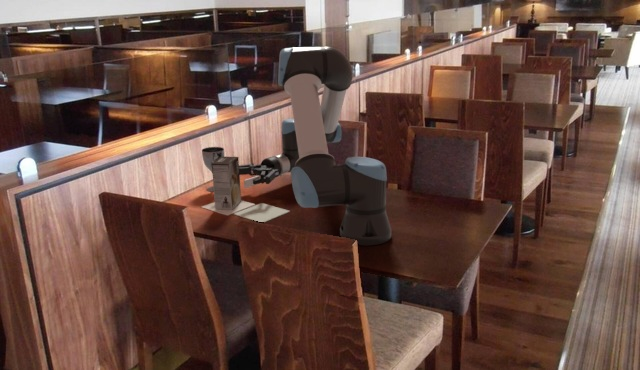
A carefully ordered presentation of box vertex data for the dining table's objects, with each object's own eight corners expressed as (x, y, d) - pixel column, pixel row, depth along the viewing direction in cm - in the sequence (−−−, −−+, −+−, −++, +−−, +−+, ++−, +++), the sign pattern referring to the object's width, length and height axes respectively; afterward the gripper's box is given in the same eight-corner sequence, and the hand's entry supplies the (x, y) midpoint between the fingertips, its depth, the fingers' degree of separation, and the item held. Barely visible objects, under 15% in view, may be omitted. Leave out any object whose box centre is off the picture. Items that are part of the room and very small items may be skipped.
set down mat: (289, 211, 196) (289, 210, 196) (262, 223, 186) (261, 222, 186) (261, 203, 204) (261, 202, 204) (233, 214, 194) (233, 213, 194)
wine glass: (203, 186, 223) (200, 147, 218) (224, 184, 225) (222, 146, 221) (206, 193, 216) (203, 153, 211) (228, 190, 218) (225, 151, 213)
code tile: (255, 204, 203) (255, 204, 203) (227, 215, 194) (226, 214, 193) (229, 197, 211) (229, 196, 211) (201, 207, 201) (201, 206, 201)
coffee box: (224, 200, 207) (221, 155, 202) (241, 201, 206) (239, 156, 201) (214, 209, 199) (211, 163, 194) (232, 210, 197) (229, 163, 192)
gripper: (300, 182, 211) (257, 198, 195) (251, 170, 226) (208, 184, 211) (299, 162, 208) (256, 176, 193) (250, 151, 224) (206, 163, 208)
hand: (231, 180), depth 202 cm, fingers open, 13 cm apart
